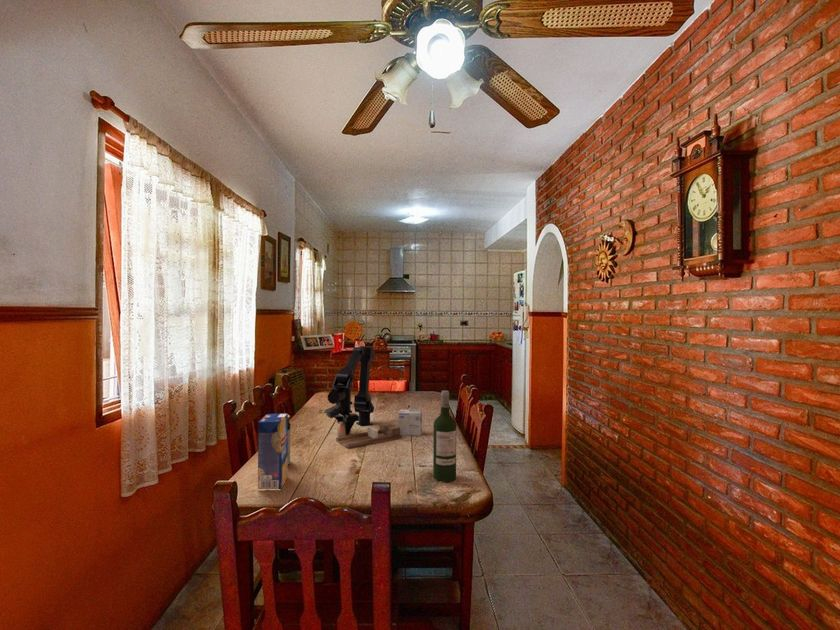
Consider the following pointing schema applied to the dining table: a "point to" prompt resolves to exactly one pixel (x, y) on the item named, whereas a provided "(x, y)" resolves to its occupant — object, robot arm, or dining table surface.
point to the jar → (342, 430)
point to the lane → (361, 439)
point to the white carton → (410, 422)
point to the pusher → (372, 432)
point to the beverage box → (272, 451)
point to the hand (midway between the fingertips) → (344, 433)
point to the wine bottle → (444, 443)
